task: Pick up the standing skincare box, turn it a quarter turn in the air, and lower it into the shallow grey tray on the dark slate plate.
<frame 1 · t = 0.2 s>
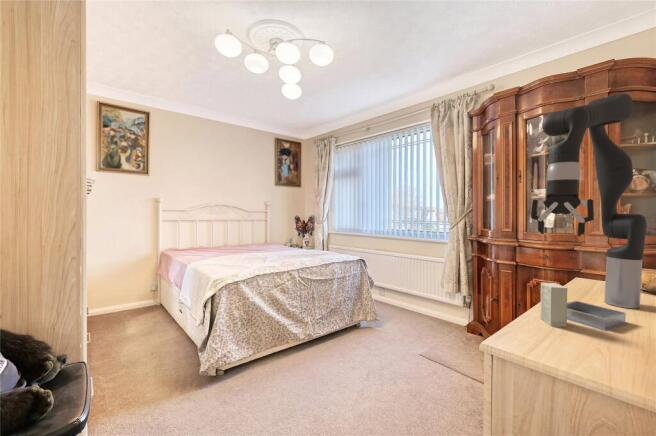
hand: (560, 234, 86), 27 cm above the table, tool pointing down, fingers open, 8 cm apart
shallow grey tray: (588, 318, 92), resting on slate base plate
skincare box: (552, 325, 88), on the table
slate base plate: (588, 321, 92), on the table
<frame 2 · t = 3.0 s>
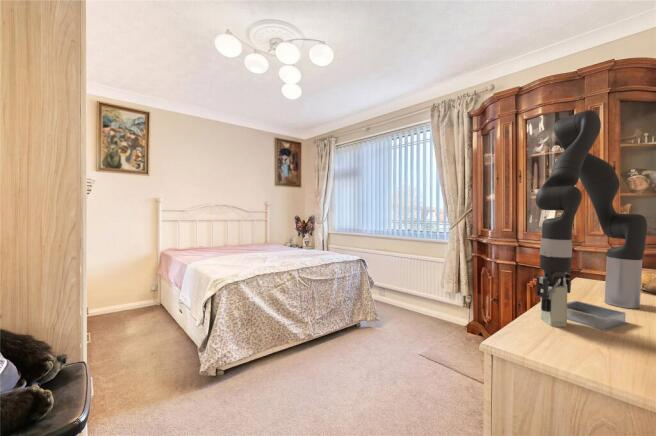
hand: (553, 309, 88), 5 cm above the table, tool pointing down, fingers closed on skincare box, 7 cm apart
skincare box: (552, 325, 88), on the table, touching gripper
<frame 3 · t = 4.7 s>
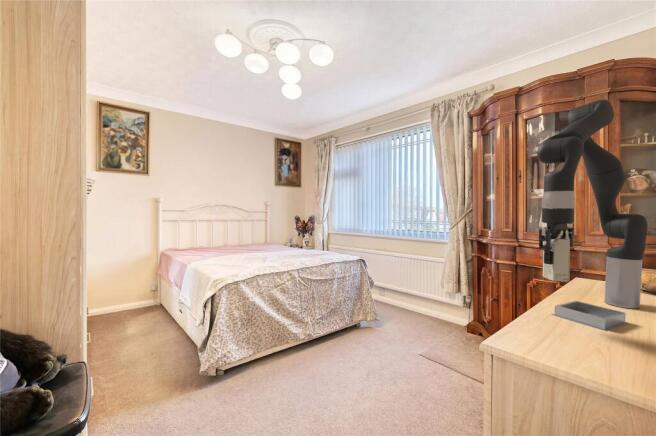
hand: (555, 262, 87), 19 cm above the table, tool pointing down, fingers closed on skincare box, 7 cm apart
skincare box: (555, 279, 88), point 14 cm above the table, touching gripper
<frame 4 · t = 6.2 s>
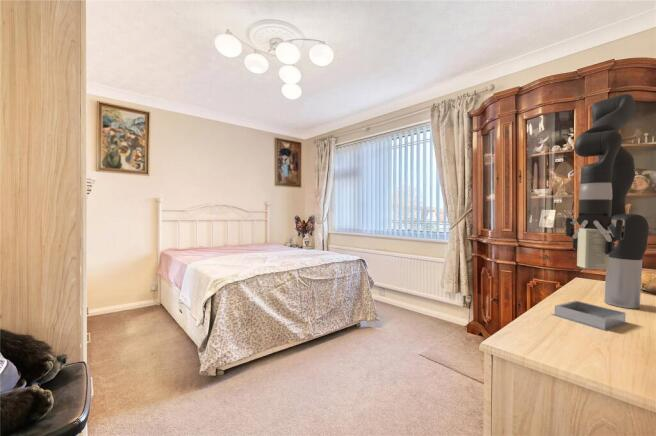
hand: (592, 252, 91), 22 cm above the table, tool pointing down, fingers closed on skincare box, 7 cm apart
skincare box: (591, 268, 91), point 17 cm above the table, touching gripper
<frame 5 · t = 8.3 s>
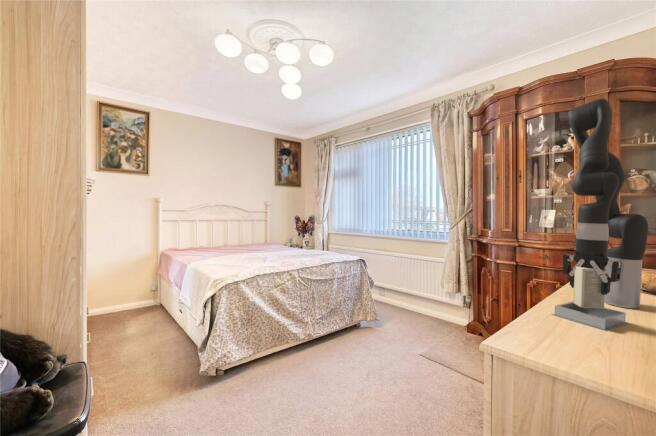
hand: (588, 290, 92), 9 cm above the table, tool pointing down, fingers closed on skincare box, 7 cm apart
skincare box: (587, 306, 92), point 4 cm above the table, touching gripper
when the fingers open (8 cm above the table, at t = 9.8 s): skincare box drops 2 cm, resting on slate base plate.
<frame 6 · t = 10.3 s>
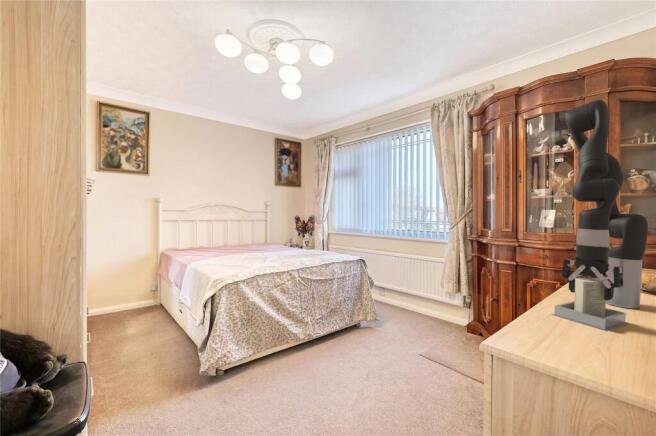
hand: (589, 296, 91), 8 cm above the table, tool pointing down, fingers open, 8 cm apart
skincare box: (588, 319, 92), point 1 cm above the table, touching slate base plate
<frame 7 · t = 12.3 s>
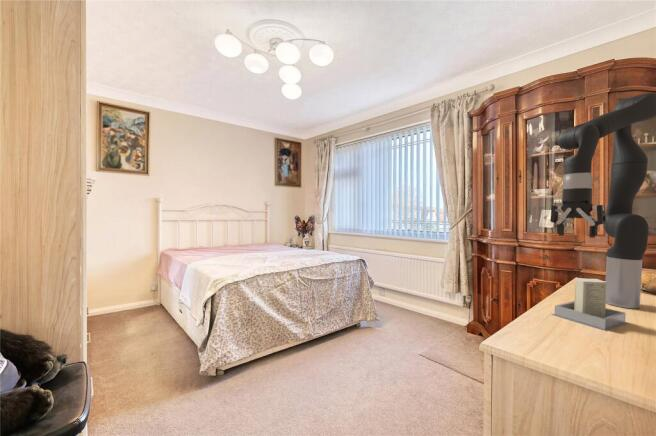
hand: (576, 236, 98), 26 cm above the table, tool pointing down, fingers open, 8 cm apart
nothing on the table moved.
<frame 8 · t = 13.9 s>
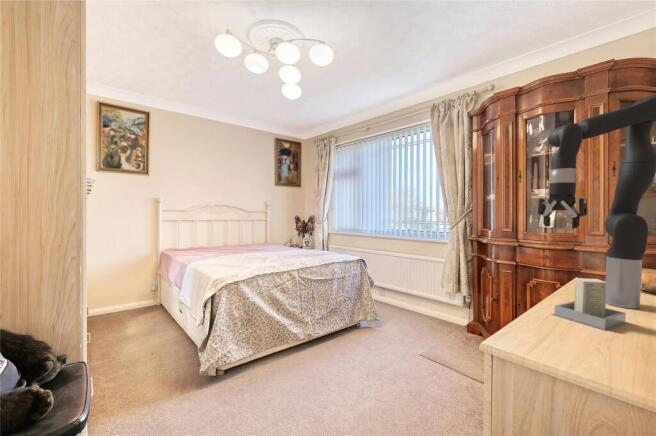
hand: (560, 227, 106), 28 cm above the table, tool pointing down, fingers open, 8 cm apart
nothing on the table moved.
at the end: skincare box 0.1 cm off-centre on the shallow grey tray, point 0.0 cm above the shallow grey tray's base; skincare box tilted 0°; the gripper is holding nothing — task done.
